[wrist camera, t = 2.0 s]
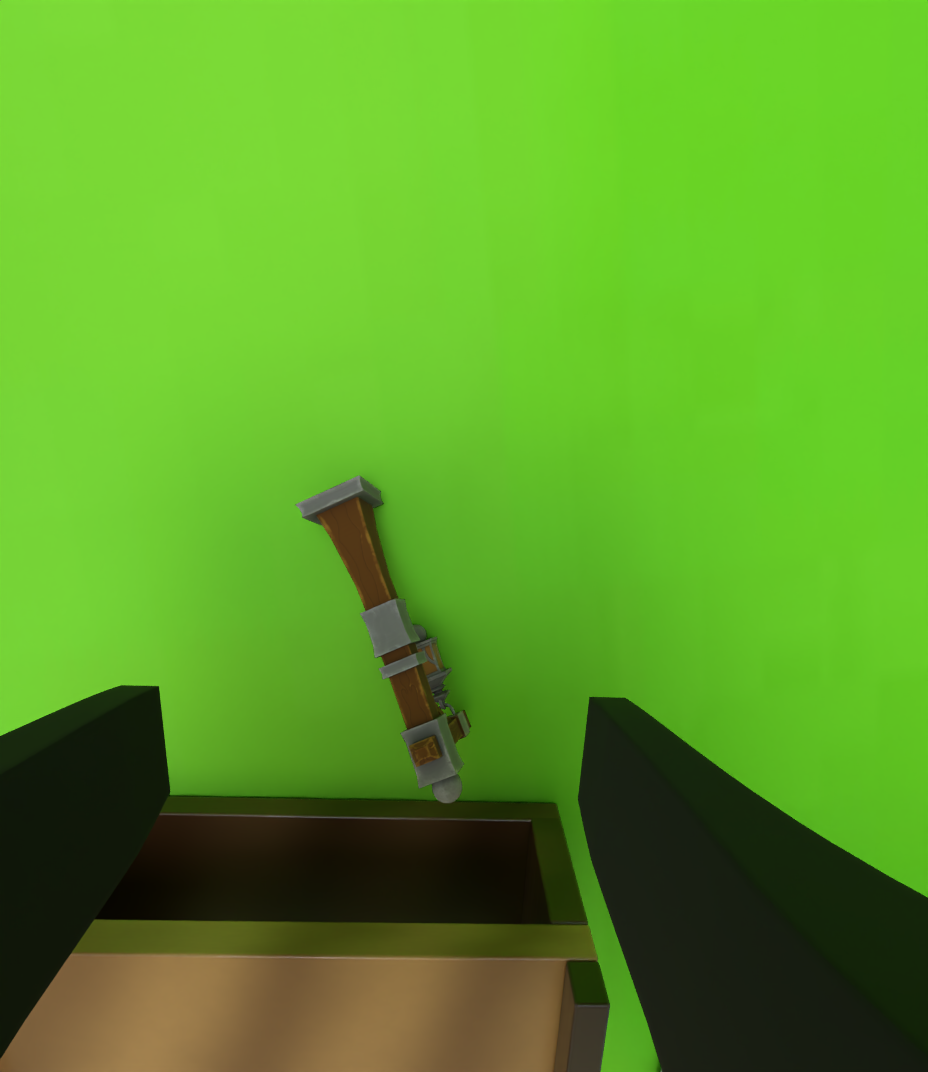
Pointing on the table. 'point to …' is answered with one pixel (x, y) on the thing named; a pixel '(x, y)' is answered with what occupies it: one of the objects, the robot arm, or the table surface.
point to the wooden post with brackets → (395, 636)
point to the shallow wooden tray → (332, 946)
